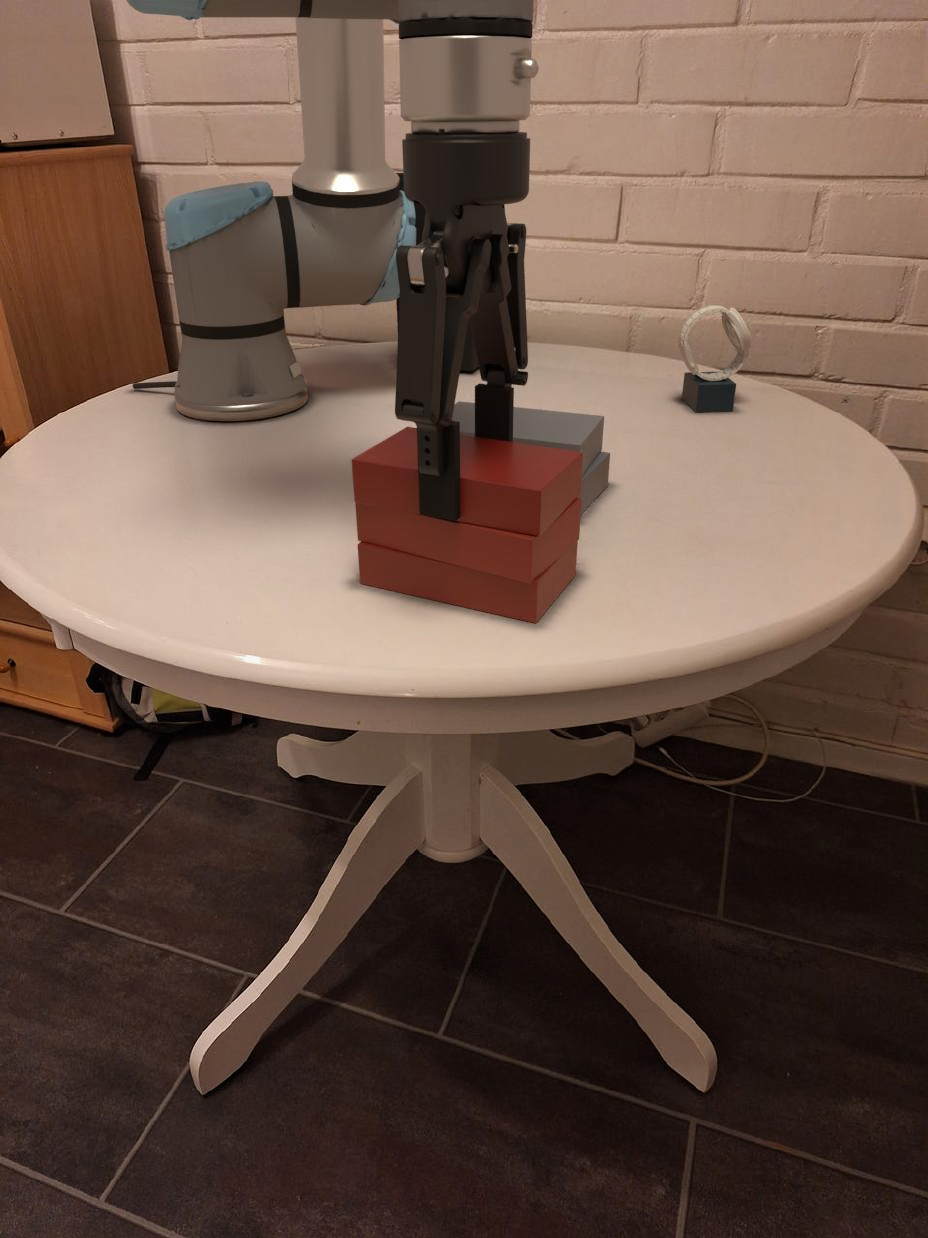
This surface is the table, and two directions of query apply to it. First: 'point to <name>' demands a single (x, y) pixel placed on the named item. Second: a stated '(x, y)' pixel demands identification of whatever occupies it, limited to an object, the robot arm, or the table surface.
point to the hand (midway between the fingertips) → (468, 493)
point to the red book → (476, 480)
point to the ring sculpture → (714, 386)
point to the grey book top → (546, 429)
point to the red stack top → (470, 540)
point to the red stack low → (465, 582)
